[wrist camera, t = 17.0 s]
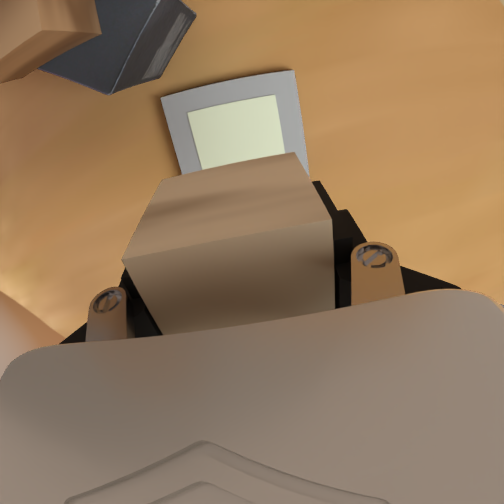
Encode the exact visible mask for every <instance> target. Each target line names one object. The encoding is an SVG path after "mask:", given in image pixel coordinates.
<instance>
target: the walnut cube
mask: <svg viewBox="0 0 504 504" xmlns="http://www.w3.org/2000/svg"><path fill="white" fill-rule="evenodd" d="M101 34H102V32H101V28H100V24H99V19H98V15H97V10H96V5H95V0H0V83H4V82H8V81H11V80H15V79H19V78H23V77H24V76H26V75H28V74H29V73H31V72H32V71H34V70H35V69H37V68H39V67H40V66H42V65H43V64H45V63H47V62H49V61H50V60H52V59H54V58H55V57H57V56H59V55H61V54H63V53H64V52H66V51H68V50H70V49H72V48H74V47H76V46H78V45H80V44H82V43H84V42H86V41H88V40H90V39H92V38H94V37H96V36H99V35H101Z"/></svg>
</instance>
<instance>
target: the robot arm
mask: <svg viewBox="0 0 504 504" xmlns="http://www.w3.org/2000/svg"><path fill="white" fill-rule="evenodd" d="M312 183H313V185H314V187H315V189H316V191H317V192H318V194H319V196H320V198H321V200H322V202H323V203H324V205H325V207H326V209H327V211H328V213H329V215H330V217H331V219H332V230H333V251H334V281H335V309H333V310H328V311H323V312H317V313H312V314H306V315H301V316H295V317H290V318H284V319H278V320H272V321H266V322H260V323H253V324H247V325H240V326H233V327H226V328H219V329H212V330H204V331H196V332H188V333H180V334H171V335H163V334H162V332H161V330H160V329H159V327H158V325H157V324H156V322H155V320H154V318H153V317H152V315H151V313H150V312H149V310H148V308H147V306H146V305H145V303H144V301H143V299H142V297H141V296H140V294H139V292H138V290H137V288H136V286H135V285H134V283H133V281H132V279H131V277H130V275H129V273H128V271H127V269H126V267H125V270H124V272H123V274H122V277H121V279H122V280H121V282H120V285H119V287H111V288H107V289H105V290H103V291H102V292H100V293H99V294H97V295H96V296H95V298H94V299H93V300H92V302H91V303H90V306H89V313H88V321H87V323H85V324H84V325H83V326H81V327H80V328H79V329H78V330H76V331H75V332H74V333H72V334H71V335H70V336H69V337H67V338H66V339H65V340H64V341H62V342H61V343H60V344H58V345H51V346H45V347H40V348H37V349H34V350H31V351H29V352H26V353H25V354H22V355H20V356H19V357H17V358H16V359H14V360H13V361H12V362H11V363H10V364H9V365H8V367H7V369H6V370H5V372H4V374H3V376H2V377H1V380H0V504H504V305H502V304H499V303H498V302H497V301H495V300H494V299H493V298H491V297H490V296H487V295H485V294H483V293H479V292H476V291H471V290H462V289H461V288H459V287H457V286H455V285H453V284H451V283H448V282H445V281H442V280H439V279H437V278H434V277H431V276H428V275H425V274H422V273H419V272H417V271H414V270H411V269H408V268H405V267H402V266H400V264H399V259H398V255H397V253H396V251H395V250H394V249H393V248H392V247H390V246H389V245H387V244H384V243H380V242H367V241H366V239H365V237H364V236H363V234H362V232H361V231H360V229H359V227H358V226H357V224H356V223H355V221H354V219H353V218H352V216H351V215H350V213H349V211H348V210H346V209H345V210H339V211H338V210H337V209H336V207H335V205H334V204H333V202H332V200H331V199H330V197H329V195H328V194H327V192H326V190H325V189H324V187H323V185H322V184H321V182H320V181H314V182H312Z"/></svg>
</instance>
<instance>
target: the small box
mask: <svg viewBox="0 0 504 504" xmlns="http://www.w3.org/2000/svg"><path fill="white" fill-rule="evenodd" d="M95 5H96V10H97V15H98V19H99V24H100V28H101V32H102V34H101V35H99V36H96V37H94V38H92V39H90V40H88V41H86V42H84V43H82V44H80V45H78V46H76V47H74V48H72V49H70V50H68V51H66V52H64V53H63V54H61V55H59V56H57V57H55V58H54V59H52V60H50V61H49V62H47V63H45V64H43V65H42V66H40V67H39V68H37V69H39V70H42V71H45V72H48V73H51V74H54V75H57V76H60V77H62V78H65V79H68V80H71V81H73V82H76V83H78V84H81V85H83V86H86V87H88V88H91V89H93V90H96V91H98V92H101V93H103V94H106V95H111V94H113V93H115V92H118V91H121V90H124V89H126V88H129V87H132V86H135V85H138V84H141V83H145V82H148V81H151V80H155V79H159V78H160V77H161V75H162V74H163V72H164V70H165V68H166V66H167V65H168V63H169V61H170V59H171V57H172V56H173V54H174V52H175V50H176V49H177V47H178V45H179V44H180V42H181V40H182V39H183V37H184V35H185V34H186V32H187V31H188V29H189V27H190V26H191V24H192V22H193V21H194V19H195V18H196V13H195V12H194V11H192V10H191V9H190V8H189V7H188V6H187V5H185V4H184V3H183V2H182V1H181V0H95Z"/></svg>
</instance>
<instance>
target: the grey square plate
mask: <svg viewBox="0 0 504 504" xmlns="http://www.w3.org/2000/svg"><path fill="white" fill-rule="evenodd" d="M161 102H162V106H163V109H164V113H165V116H166V120H167V124H168V127H169V131H170V134H171V138H172V141H173V145H174V148H175V152H176V155H177V159H178V162H179V165H180V169H181V172H182V175H183V174H187V173H191V172H195V171H200V170H204V169H209V168H213V167H218V166H222V165H227V164H232V163H236V162H241V161H246V160H251V159H257V158H262V157H267V156H273V155H279V154H284V153H290V152H295V154H296V155H297V157H298V159H299V161H300V162H301V164H302V166H303V168H304V169H305V171H306V173H307V175H308V176H309V169H308V161H307V153H306V145H305V138H304V131H303V124H302V117H301V110H300V104H299V97H298V91H297V85H296V79H295V73H294V70H286V71H279V72H272V73H265V74H259V75H253V76H247V77H242V78H237V79H232V80H227V81H222V82H217V83H213V84H209V85H204V86H200V87H196V88H192V89H188V90H185V91H181V92H177V93H174V94H170V95H167V96H163V97H161Z"/></svg>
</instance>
